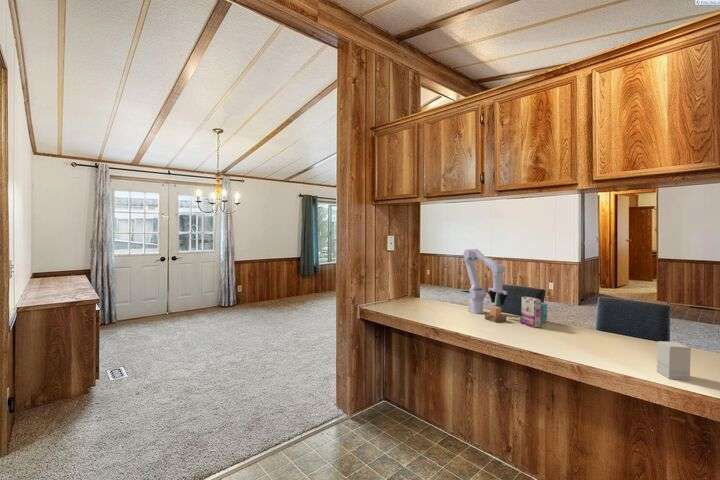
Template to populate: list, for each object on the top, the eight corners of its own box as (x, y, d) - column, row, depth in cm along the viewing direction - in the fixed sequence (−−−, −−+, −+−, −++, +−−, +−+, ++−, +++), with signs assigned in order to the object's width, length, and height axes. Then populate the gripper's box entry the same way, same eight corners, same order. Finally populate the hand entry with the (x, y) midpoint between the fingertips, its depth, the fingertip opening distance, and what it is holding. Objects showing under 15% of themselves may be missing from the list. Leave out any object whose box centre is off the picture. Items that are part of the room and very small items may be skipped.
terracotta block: (490, 314, 223) (490, 307, 223) (495, 313, 225) (495, 306, 224) (495, 316, 219) (495, 308, 218) (501, 315, 221) (501, 307, 220)
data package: (547, 322, 217) (547, 303, 216) (543, 323, 214) (543, 304, 214) (528, 318, 226) (528, 300, 226) (524, 319, 224) (524, 300, 223)
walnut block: (484, 319, 224) (484, 314, 224) (495, 318, 228) (495, 313, 228) (495, 323, 216) (495, 317, 216) (506, 321, 220) (506, 316, 220)
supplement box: (690, 380, 133) (691, 347, 133) (668, 379, 135) (669, 346, 134) (676, 372, 141) (677, 341, 140) (655, 371, 142) (656, 340, 142)
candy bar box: (541, 327, 206) (541, 299, 205) (534, 328, 204) (534, 300, 204) (527, 322, 216) (527, 296, 216) (520, 323, 215) (520, 296, 215)
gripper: (484, 281, 231) (484, 302, 232) (501, 284, 218) (500, 306, 218) (493, 281, 234) (493, 301, 234) (510, 284, 221) (509, 305, 221)
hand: (497, 303), depth 227 cm, fingers open, 7 cm apart
